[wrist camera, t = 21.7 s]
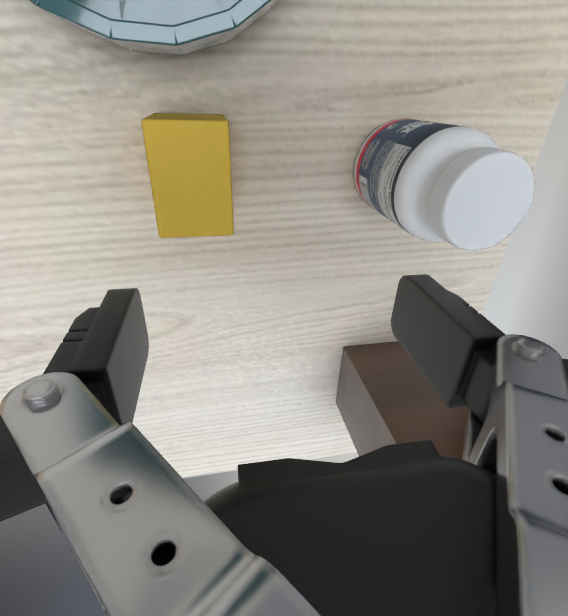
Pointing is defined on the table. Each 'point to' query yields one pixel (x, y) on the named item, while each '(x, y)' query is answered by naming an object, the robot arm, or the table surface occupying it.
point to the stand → (394, 402)
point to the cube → (190, 173)
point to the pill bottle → (444, 182)
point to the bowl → (160, 21)
